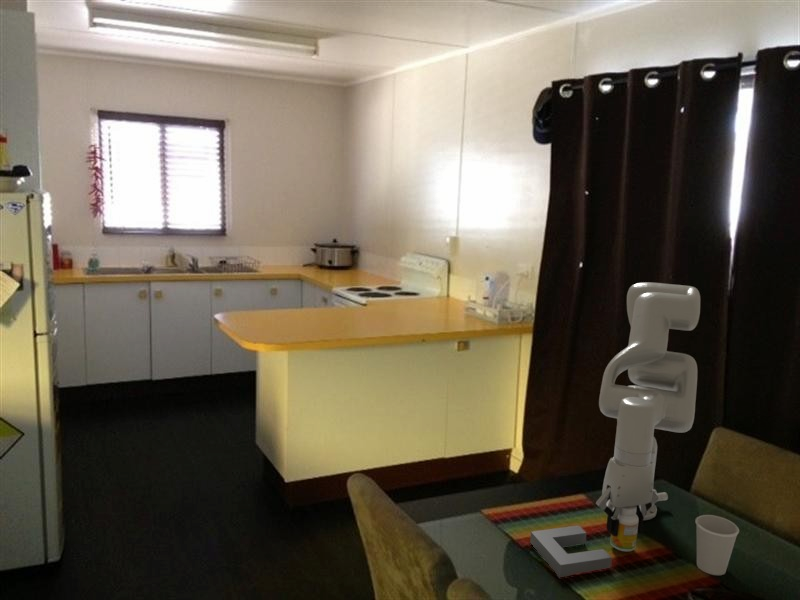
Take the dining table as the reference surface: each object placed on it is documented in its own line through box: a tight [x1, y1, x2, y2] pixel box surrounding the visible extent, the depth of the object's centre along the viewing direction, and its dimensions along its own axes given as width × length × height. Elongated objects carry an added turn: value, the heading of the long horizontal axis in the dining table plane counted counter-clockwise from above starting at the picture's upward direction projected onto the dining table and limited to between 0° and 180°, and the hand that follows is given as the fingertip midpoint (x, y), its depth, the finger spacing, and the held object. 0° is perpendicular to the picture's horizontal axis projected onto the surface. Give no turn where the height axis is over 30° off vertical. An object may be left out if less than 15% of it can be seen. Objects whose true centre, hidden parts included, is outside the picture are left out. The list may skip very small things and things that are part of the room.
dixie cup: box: [695, 514, 740, 576], centre depth 141 cm, size 8×8×10 cm
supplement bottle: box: [610, 506, 639, 552], centre depth 146 cm, size 5×5×10 cm
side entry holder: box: [529, 525, 613, 579], centre depth 143 cm, size 12×13×3 cm
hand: (624, 530), depth 147 cm, fingers closed on supplement bottle, 5 cm apart
